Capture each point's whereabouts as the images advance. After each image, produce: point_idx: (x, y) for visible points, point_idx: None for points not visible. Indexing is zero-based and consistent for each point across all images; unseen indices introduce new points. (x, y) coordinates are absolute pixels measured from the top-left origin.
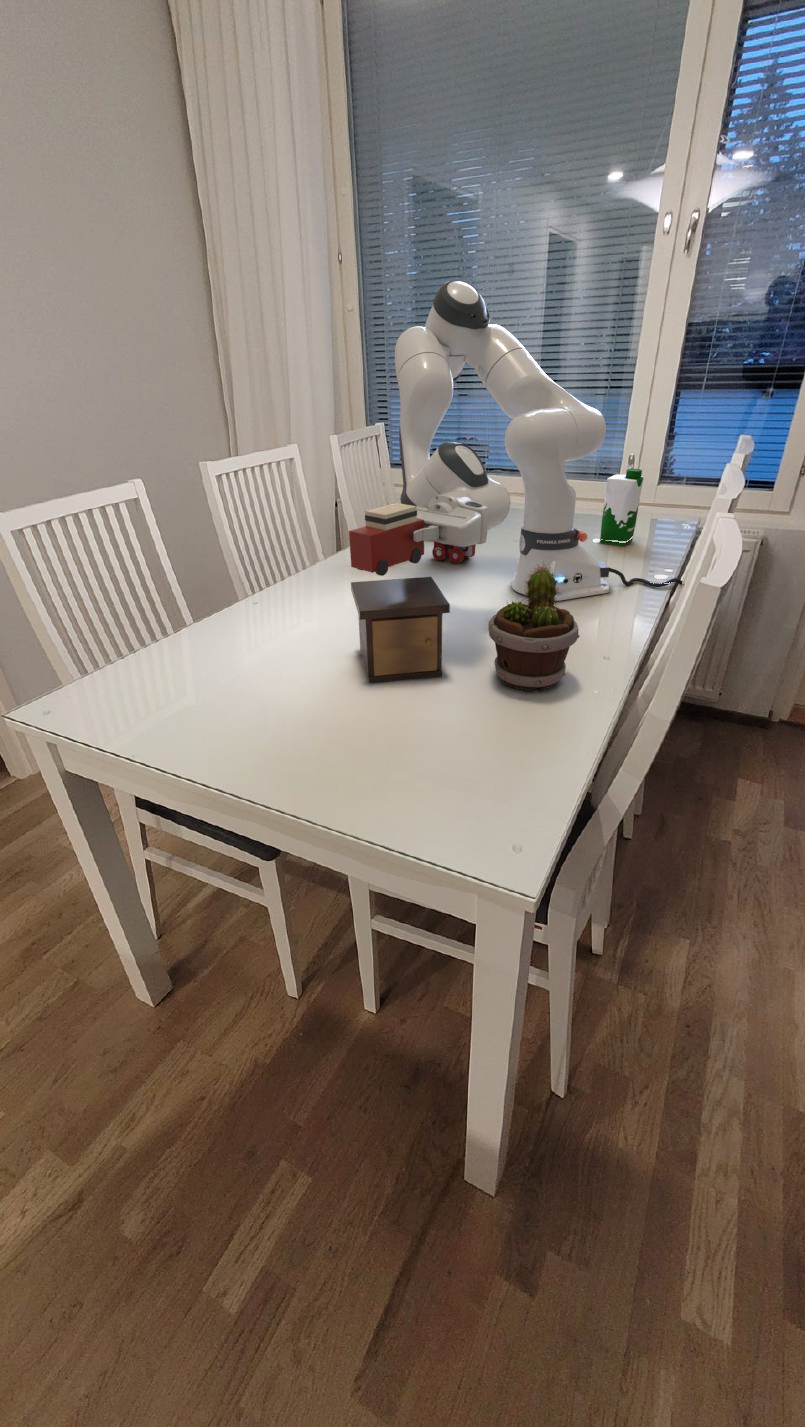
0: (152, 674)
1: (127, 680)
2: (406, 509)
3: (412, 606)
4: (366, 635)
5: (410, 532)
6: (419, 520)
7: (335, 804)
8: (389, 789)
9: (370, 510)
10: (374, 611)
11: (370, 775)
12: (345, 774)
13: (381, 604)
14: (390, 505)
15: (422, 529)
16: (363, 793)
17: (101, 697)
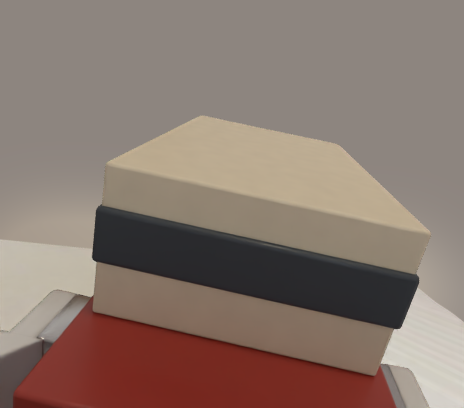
0: (453, 365)
1: (448, 346)
2: (155, 139)
3: None
4: None
5: None
6: (71, 346)
7: (61, 259)
8: (8, 278)
9: (328, 145)
10: None
11: (37, 288)
12: (68, 284)
13: None
14: (356, 183)
15: (11, 333)
16: (37, 271)
17: (413, 315)
